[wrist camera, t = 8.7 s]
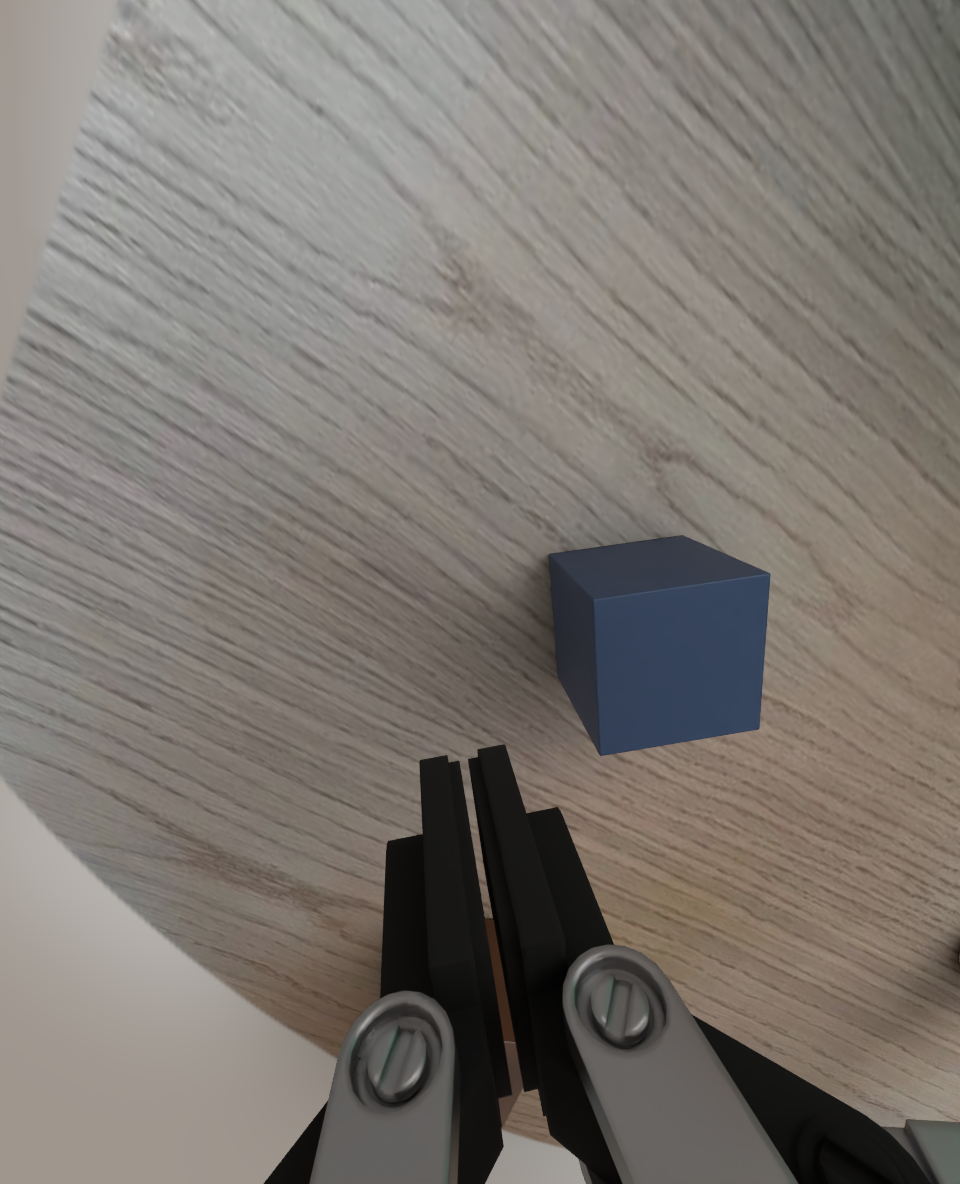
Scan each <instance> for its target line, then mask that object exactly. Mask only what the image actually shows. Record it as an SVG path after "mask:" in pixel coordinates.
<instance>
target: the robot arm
mask: <svg viewBox="0 0 960 1184" xmlns="http://www.w3.org/2000/svg"><path fill="white" fill-rule="evenodd" d="M468 763H469V769H470V776H471V783H472V789H473V796H474V803H475V809H476V816H477V823H478V829H479V836H480V842H481V849H482V856H483V862H484V869H485V875H486V881H487V887H488V892H489V898H490V903H491V909H492V915H493V920H494V926H495V931H496V937H497V943H498V948H499V954H500V960H501V965H502V971H503V976H504V982H505V988H506V993H507V999H508V1004H509V1010H510V1016H511V1021H512V1027H513V1032H514V1038H515V1044H516V1049H517V1055H518V1061H519V1066H520V1072H521V1077H522V1083H523V1088H524V1092H527V1091H531V1090H535V1089H538V1091H539V1096H540V1101H541V1106H542V1111H543V1116H546V1117H547V1122H548V1127H549V1132H550V1135H551V1136H552V1137H553V1138H555V1139H556V1140H557V1141H558V1142H559V1143H561V1144H562V1145H563V1146H564V1147H565V1148H566V1149H568V1150H569V1151H570V1152H571V1153H572V1154H574V1155H575V1156H576V1157H577V1158H578V1159H579V1163H580V1167H581V1171H582V1174H583V1176H584V1180H585V1182H586V1184H960V1122H945V1121H928V1120H911V1119H907V1120H906V1123H905V1127H904V1128H897V1127H881V1126H879V1125H878V1124H876V1123H875V1122H874V1121H872V1120H871V1119H870V1118H868V1117H867V1116H865V1115H864V1114H862V1113H861V1112H859V1111H857V1110H855V1109H854V1108H852V1107H850V1106H848V1105H847V1104H845V1103H843V1102H842V1101H840V1100H838V1099H836V1098H835V1097H833V1096H831V1095H830V1094H828V1093H826V1092H824V1091H823V1090H821V1089H819V1088H817V1087H816V1086H814V1085H812V1084H811V1083H809V1082H807V1081H805V1080H804V1079H802V1078H800V1077H798V1076H797V1075H795V1074H793V1073H792V1072H790V1071H788V1070H786V1069H785V1068H783V1067H781V1066H780V1065H778V1064H776V1063H774V1062H773V1061H771V1060H769V1059H767V1058H766V1057H764V1056H762V1055H761V1054H759V1053H757V1052H755V1051H754V1050H752V1049H750V1048H749V1047H747V1046H745V1045H743V1044H742V1043H740V1042H738V1041H736V1040H735V1039H733V1038H731V1037H730V1036H728V1035H726V1034H724V1033H723V1032H721V1031H719V1030H717V1029H716V1028H714V1027H712V1026H711V1025H709V1024H707V1023H705V1022H704V1021H702V1020H700V1019H699V1018H697V1017H695V1016H693V1015H692V1014H691V1013H690V1012H689V1010H688V1009H687V1007H686V1005H685V1004H684V1002H683V1001H682V999H681V997H680V996H679V994H678V993H677V991H676V990H675V988H674V986H673V985H672V983H671V982H670V980H669V979H668V977H667V976H666V975H665V974H664V973H663V971H662V970H661V969H660V968H659V966H658V965H657V964H656V963H655V962H653V961H652V960H650V959H649V958H648V957H646V956H645V955H644V954H642V953H641V952H638V951H636V950H633V949H631V948H628V947H625V946H618V945H614V943H613V941H612V938H611V936H610V933H609V931H608V928H607V926H606V923H605V921H604V918H603V916H602V913H601V911H600V908H599V906H598V903H597V901H596V898H595V896H594V893H593V891H592V888H591V886H590V883H589V881H588V878H587V876H586V873H585V871H584V868H583V866H582V863H581V861H580V858H579V856H578V853H577V851H576V848H575V846H574V843H573V841H572V838H571V836H570V833H569V831H568V828H567V825H566V823H565V820H564V818H563V816H562V813H561V811H560V810H559V808H558V807H556V808H551V809H546V810H541V811H536V812H531V813H526V811H525V808H524V804H523V801H522V798H521V795H520V791H519V788H518V785H517V782H516V778H515V775H514V772H513V769H512V766H511V762H510V759H509V756H508V753H507V749H506V746H505V745H499V746H493V747H488V748H482V749H478V757H476V758H471V759H468ZM420 784H421V807H422V829H423V834H421V835H416V836H411V837H406V838H401V839H396V840H391V841H388V843H387V849H386V869H385V894H384V919H383V943H382V968H381V993H380V999H379V1000H377V1001H376V1002H374V1003H372V1004H371V1005H370V1006H369V1007H368V1008H367V1009H366V1010H365V1011H364V1012H363V1013H362V1014H361V1015H360V1016H359V1017H358V1018H357V1019H356V1020H355V1022H354V1024H353V1025H352V1027H351V1028H350V1030H349V1031H348V1033H347V1035H346V1036H345V1039H344V1042H343V1045H342V1047H341V1050H340V1053H339V1056H338V1060H337V1064H336V1068H335V1073H334V1077H333V1082H332V1086H331V1091H330V1095H329V1099H328V1101H327V1102H326V1104H325V1105H324V1107H323V1108H322V1109H321V1110H320V1112H319V1113H318V1114H317V1115H316V1117H315V1118H314V1119H313V1121H312V1122H311V1123H310V1124H309V1126H308V1127H307V1128H306V1130H305V1131H304V1132H303V1134H302V1135H301V1136H300V1138H299V1139H298V1140H297V1141H296V1143H295V1144H294V1145H293V1147H292V1148H291V1149H290V1150H289V1152H288V1153H287V1154H286V1155H285V1157H284V1158H283V1159H282V1161H281V1162H280V1163H279V1165H278V1166H277V1167H276V1169H275V1170H274V1171H273V1172H272V1174H271V1175H270V1176H269V1178H268V1179H267V1180H266V1181H265V1183H264V1184H485V1182H486V1180H487V1178H488V1176H489V1174H490V1172H491V1170H492V1168H493V1167H494V1164H495V1162H496V1161H497V1159H498V1157H499V1155H500V1152H501V1151H502V1149H503V1139H502V1132H501V1127H502V1122H501V1114H500V1107H499V1100H498V1099H499V1098H503V1097H507V1096H511V1095H512V1089H511V1082H510V1076H509V1070H508V1063H507V1057H506V1051H505V1044H504V1038H503V1031H502V1025H501V1019H500V1012H499V1006H498V1000H497V993H496V987H495V980H494V974H493V968H492V961H491V955H490V949H489V942H488V936H487V930H486V924H485V918H484V911H483V905H482V899H481V893H480V887H479V880H478V874H477V868H476V862H475V855H474V849H473V843H472V837H471V831H470V824H469V818H468V812H467V806H466V800H465V793H464V787H463V781H462V775H461V769H460V762H459V761H455V762H450V763H449V762H448V756H447V755H445V756H440V757H434V758H429V759H423V760H420Z"/></svg>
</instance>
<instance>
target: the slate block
mask: <svg viewBox="0 0 960 1184" xmlns="http://www.w3.org/2000/svg"><path fill="white" fill-rule="evenodd" d="M549 564H550V577H551V591H552V605H553V618H554V632H555V646H556V659H557V673H558V679H559V681H560V682H561V684H562V686H563V688H564V690H565V692H566V694H567V695H568V697H569V699H570V701H571V703H572V705H573V706H574V708H575V710H576V712H577V714H578V716H579V718H580V719H581V721H582V723H583V725H584V727H585V729H586V731H587V732H588V734H589V736H590V738H591V740H592V742H593V744H594V745H595V747H596V749H597V751H598V753H599V755H600V756H604V755H610V754H615V753H621V752H627V751H633V750H639V749H645V748H651V747H657V746H663V745H669V744H675V743H680V742H686V741H692V740H698V739H704V738H710V737H716V736H722V735H728V734H734V733H740V732H745V731H751V730H757V729H759V726H760V712H761V698H762V684H763V670H764V656H765V642H766V628H767V614H768V600H769V586H770V573H768V572H766V571H763V570H761V569H759V568H756V567H754V566H752V565H750V564H747V563H745V562H743V561H740V560H738V559H736V558H733V557H731V556H729V555H727V554H724V553H722V552H720V551H717V550H715V549H713V548H710V547H708V546H706V545H704V544H701V543H699V542H697V541H694V540H692V539H690V538H687V537H685V536H683V535H682V536H675V537H668V538H661V539H654V540H647V541H639V542H632V543H625V544H618V545H611V546H604V547H597V548H590V549H583V550H576V551H568V552H561V553H554V554H549Z"/></svg>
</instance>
